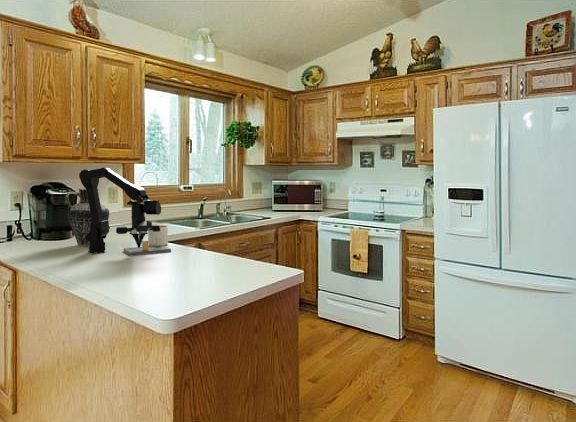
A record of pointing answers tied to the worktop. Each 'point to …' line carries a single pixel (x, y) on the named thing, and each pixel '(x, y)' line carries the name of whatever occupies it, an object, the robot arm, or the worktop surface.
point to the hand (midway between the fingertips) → (138, 247)
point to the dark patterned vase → (82, 216)
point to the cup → (162, 233)
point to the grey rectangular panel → (150, 250)
